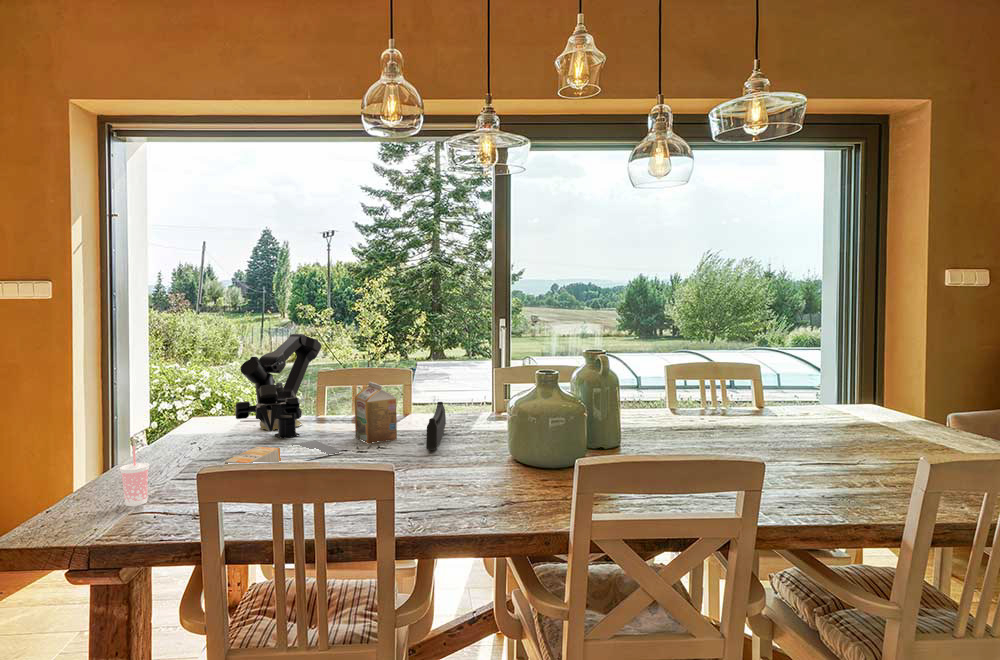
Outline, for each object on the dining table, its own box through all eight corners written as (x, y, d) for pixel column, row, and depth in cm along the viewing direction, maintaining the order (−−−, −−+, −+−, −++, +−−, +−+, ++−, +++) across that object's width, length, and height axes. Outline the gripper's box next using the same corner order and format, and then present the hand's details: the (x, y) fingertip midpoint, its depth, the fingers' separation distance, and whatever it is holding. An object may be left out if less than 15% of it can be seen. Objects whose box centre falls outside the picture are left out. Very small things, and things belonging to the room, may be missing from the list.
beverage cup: (147, 505, 145) (144, 448, 143) (117, 508, 143) (115, 450, 142) (153, 497, 150) (151, 441, 149) (125, 499, 149) (123, 443, 148)
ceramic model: (291, 421, 234) (290, 396, 233) (306, 426, 227) (306, 399, 226) (256, 428, 223) (255, 401, 223) (271, 433, 216) (270, 405, 215)
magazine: (435, 426, 187) (444, 383, 215) (424, 426, 187) (435, 383, 215) (437, 473, 193) (446, 426, 221) (427, 473, 193) (437, 426, 221)
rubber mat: (238, 456, 186) (238, 454, 186) (315, 441, 203) (315, 440, 203) (262, 469, 172) (262, 467, 172) (342, 453, 189) (342, 451, 189)
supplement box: (280, 447, 175) (248, 462, 163) (281, 463, 176) (249, 479, 163) (256, 445, 178) (223, 460, 165) (258, 461, 178) (225, 477, 166)
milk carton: (396, 439, 207) (396, 384, 205) (367, 444, 201) (366, 387, 199) (384, 433, 215) (383, 380, 214) (355, 437, 209) (354, 382, 208)
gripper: (234, 376, 186) (239, 419, 177) (298, 372, 195) (305, 412, 186) (233, 397, 194) (237, 439, 185) (294, 392, 202) (301, 432, 193)
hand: (270, 430), depth 187 cm, fingers closed
